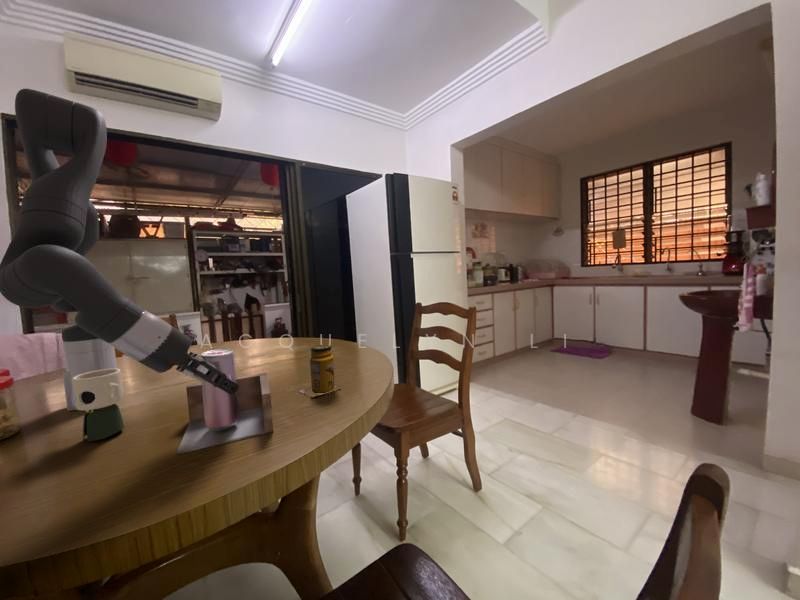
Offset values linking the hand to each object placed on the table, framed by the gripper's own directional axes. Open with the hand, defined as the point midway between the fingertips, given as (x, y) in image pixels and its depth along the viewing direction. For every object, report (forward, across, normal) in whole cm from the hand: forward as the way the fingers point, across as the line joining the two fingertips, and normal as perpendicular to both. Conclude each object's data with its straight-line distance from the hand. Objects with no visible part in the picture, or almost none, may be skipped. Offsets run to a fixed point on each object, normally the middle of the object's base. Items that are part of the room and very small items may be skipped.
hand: (228, 387), depth 66 cm
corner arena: (+6, +1, +6) cm, 9 cm away
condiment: (+23, +2, -10) cm, 25 cm away
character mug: (-6, +18, +18) cm, 27 cm away
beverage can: (+4, 0, +6) cm, 8 cm away
